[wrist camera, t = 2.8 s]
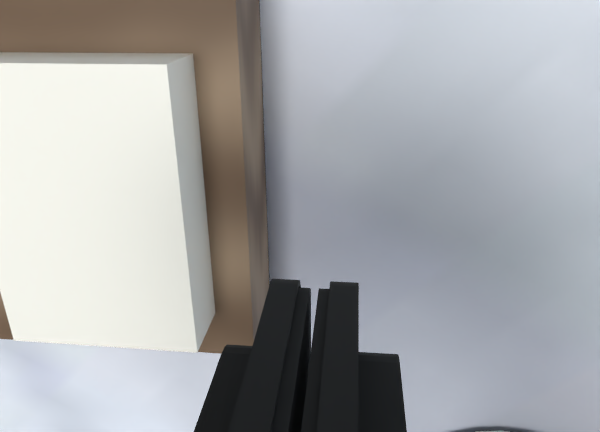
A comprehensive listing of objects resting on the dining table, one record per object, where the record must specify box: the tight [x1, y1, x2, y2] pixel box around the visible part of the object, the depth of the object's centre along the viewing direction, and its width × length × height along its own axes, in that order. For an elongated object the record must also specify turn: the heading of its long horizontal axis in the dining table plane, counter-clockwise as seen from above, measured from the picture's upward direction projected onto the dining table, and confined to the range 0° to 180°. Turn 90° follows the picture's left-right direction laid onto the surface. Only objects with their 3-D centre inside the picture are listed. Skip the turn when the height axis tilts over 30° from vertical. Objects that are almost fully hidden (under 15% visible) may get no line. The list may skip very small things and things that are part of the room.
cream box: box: [0, 52, 215, 353], centre depth 18 cm, size 10×7×2 cm
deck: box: [0, 0, 269, 353], centre depth 22 cm, size 14×16×4 cm
